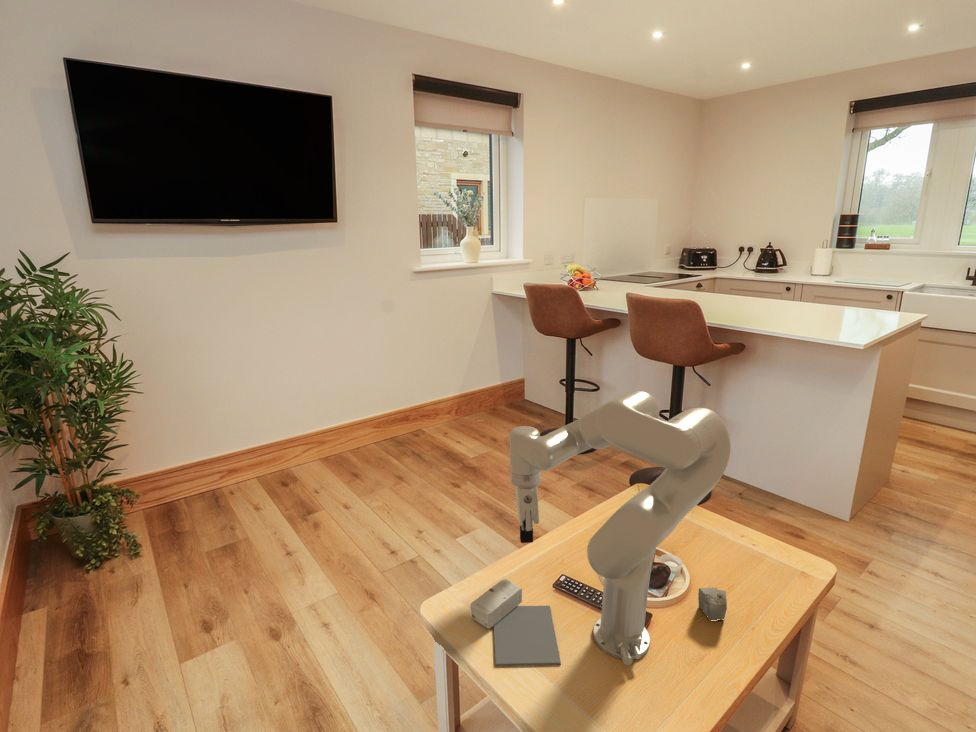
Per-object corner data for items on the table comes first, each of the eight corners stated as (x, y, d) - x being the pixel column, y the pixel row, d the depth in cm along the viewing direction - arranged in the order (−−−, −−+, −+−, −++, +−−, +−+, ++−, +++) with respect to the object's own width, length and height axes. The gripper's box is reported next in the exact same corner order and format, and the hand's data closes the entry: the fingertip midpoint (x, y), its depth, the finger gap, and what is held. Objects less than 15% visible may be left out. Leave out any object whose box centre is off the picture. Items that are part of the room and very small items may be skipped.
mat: (560, 664, 113) (560, 662, 112) (495, 666, 112) (495, 663, 112) (549, 607, 129) (549, 605, 129) (492, 608, 128) (493, 606, 128)
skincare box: (522, 587, 128) (489, 613, 120) (522, 602, 129) (489, 630, 121) (503, 577, 132) (469, 602, 124) (503, 592, 134) (470, 618, 125)
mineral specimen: (685, 605, 129) (695, 577, 127) (717, 609, 130) (727, 581, 128) (700, 627, 122) (711, 597, 120) (734, 631, 123) (744, 602, 121)
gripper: (544, 489, 123) (545, 557, 127) (536, 462, 137) (537, 524, 142) (513, 490, 123) (514, 559, 127) (508, 463, 137) (509, 526, 142)
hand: (526, 540), depth 135 cm, fingers closed
